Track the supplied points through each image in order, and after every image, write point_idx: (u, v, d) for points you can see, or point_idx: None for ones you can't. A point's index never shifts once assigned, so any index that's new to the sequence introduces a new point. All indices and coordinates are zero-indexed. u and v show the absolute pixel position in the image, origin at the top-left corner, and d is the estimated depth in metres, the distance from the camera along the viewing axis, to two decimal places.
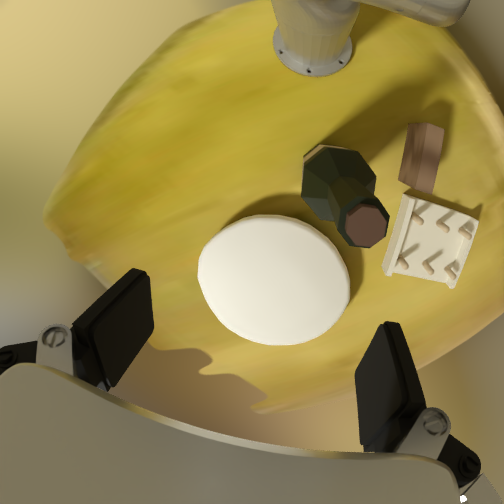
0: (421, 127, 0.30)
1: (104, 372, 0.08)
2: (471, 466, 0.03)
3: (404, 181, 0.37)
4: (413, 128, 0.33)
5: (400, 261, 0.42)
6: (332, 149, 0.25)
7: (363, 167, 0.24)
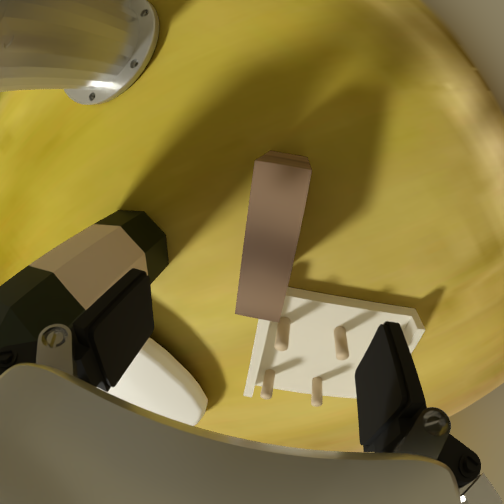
0: None
1: (104, 372, 0.08)
2: (471, 466, 0.03)
3: None
4: None
5: (263, 383, 0.27)
6: None
7: (10, 343, 0.10)
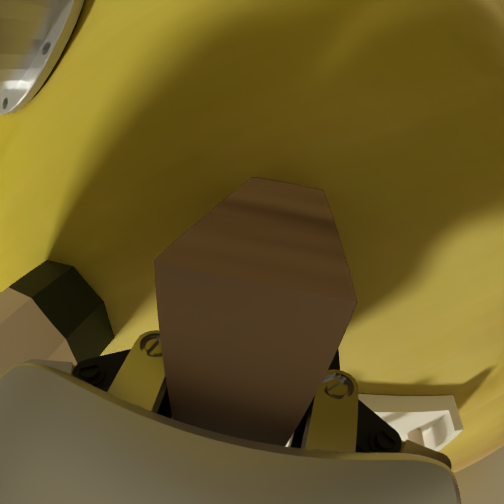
0: None
1: None
2: (384, 442, 0.05)
3: None
4: None
5: None
6: None
7: None
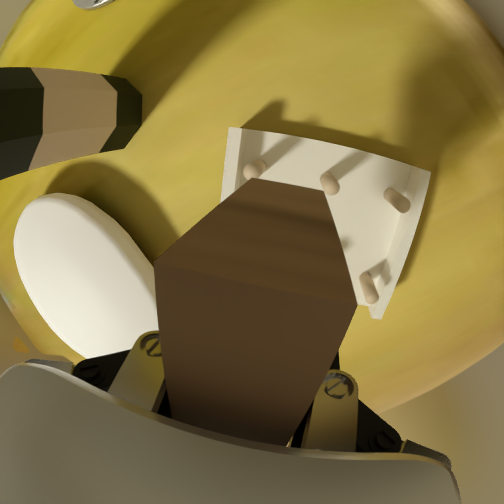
0: None
1: None
2: (384, 442, 0.05)
3: None
4: None
5: None
6: None
7: None
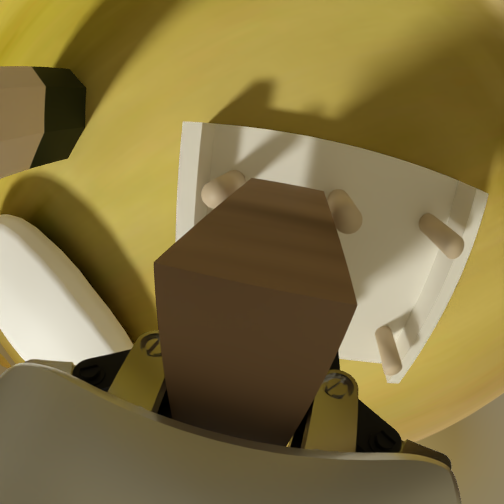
0: None
1: None
2: (384, 442, 0.05)
3: None
4: None
5: None
6: None
7: None
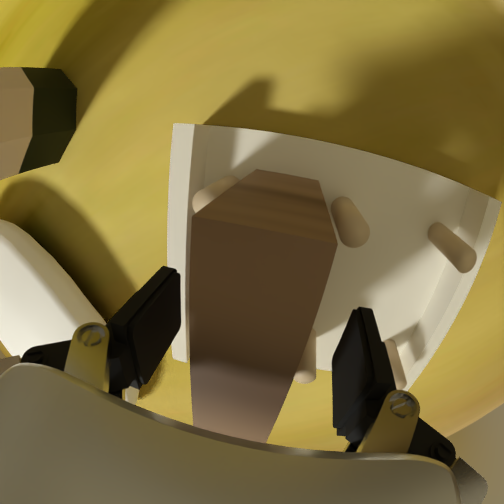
0: None
1: (138, 369, 0.08)
2: (443, 453, 0.04)
3: None
4: None
5: None
6: None
7: None
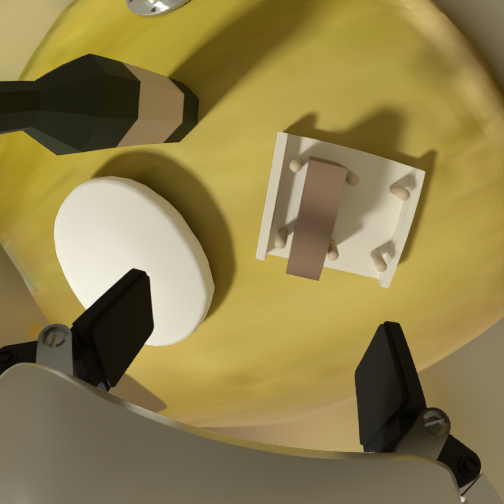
0: None
1: (104, 372, 0.08)
2: (471, 466, 0.03)
3: (290, 250, 0.28)
4: (308, 165, 0.25)
5: (276, 236, 0.29)
6: (64, 64, 0.13)
7: (79, 67, 0.12)
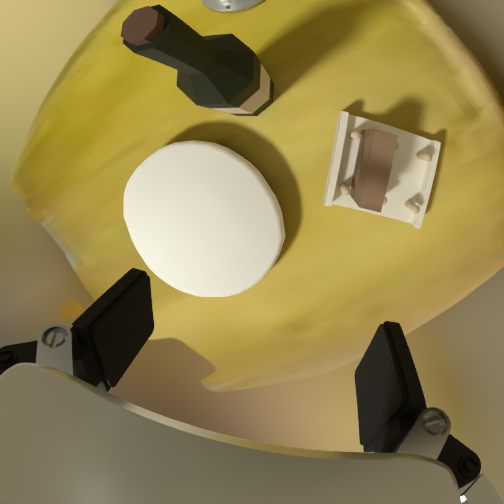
0: (370, 134, 0.29)
1: (104, 372, 0.08)
2: (471, 466, 0.03)
3: (353, 196, 0.36)
4: (364, 135, 0.32)
5: (341, 187, 0.37)
6: (204, 36, 0.20)
7: (232, 41, 0.19)
